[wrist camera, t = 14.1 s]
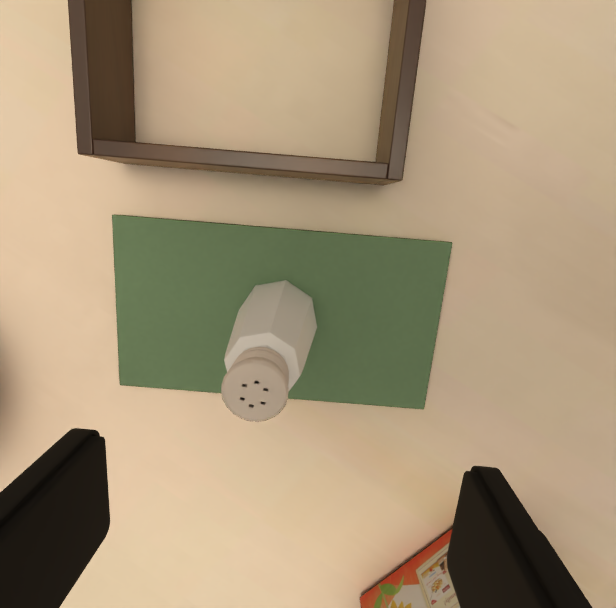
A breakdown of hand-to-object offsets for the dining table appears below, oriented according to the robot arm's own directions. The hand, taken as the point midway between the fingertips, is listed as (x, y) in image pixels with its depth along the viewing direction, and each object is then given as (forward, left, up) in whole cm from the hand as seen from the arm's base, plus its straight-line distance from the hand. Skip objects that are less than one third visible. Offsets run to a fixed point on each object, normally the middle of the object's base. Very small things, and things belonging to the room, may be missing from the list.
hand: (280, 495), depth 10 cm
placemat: (+2, 0, -18) cm, 18 cm away
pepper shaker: (+2, 0, -17) cm, 17 cm away
